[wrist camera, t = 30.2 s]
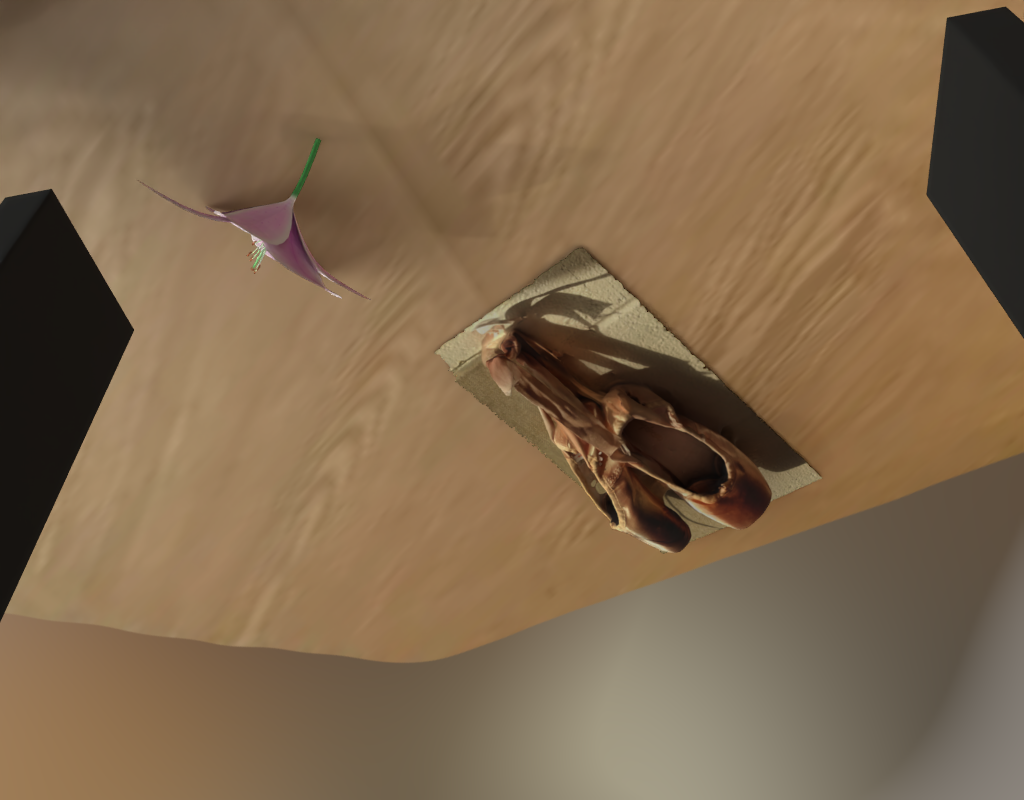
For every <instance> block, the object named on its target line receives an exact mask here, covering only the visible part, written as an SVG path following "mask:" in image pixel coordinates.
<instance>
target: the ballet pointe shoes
mask: <svg viewBox="0 0 1024 800" xmlns="http://www.w3.org/2000/svg"><path fill="white" fill-rule="evenodd" d="M565 259H566V260H561V261H560V262H559V264H556V265H555V266H553V267H552V268H550V269H549V270H548V271H547V272H544V273H543V274H541V275H540V276H539V278H537V279H534V280H535V281H534V283H533V284H532V285H529V286H528V287H525V288H523V289H522V290H521V292H520V293H519V294H518V293H516V294H514V296H513V295H512V297H511V299H508V300H506V301H505V302H504V303H502V304H501V305H499V306H498V307H496V308H495V309H494V310H492V311H491V313H488V314H487V315H485V316H484V317H483V318H482V320H481V319H479V321H477V322H476V323H473V324H472V326H470V327H467V328H466V329H465V332H463V333H459V334H458V335H457V337H456V336H455V339H454V338H452V340H449V341H448V342H446V344H443V346H441V347H440V348H441V349H438V350H437V351H436V352H435V354H436V355H437V354H440V355H441V357H442V359H445V362H446V363H447V364H448V365H449V367H451V368H450V371H453V373H454V376H456V375H457V377H456V381H455V382H458V383H459V385H460V386H463V388H465V389H466V391H469V392H471V393H472V394H473V395H475V396H474V397H475V398H476V399H477V400H478V401H479V402H480V403H482V404H486V406H488V407H489V409H490V410H491V411H492V412H495V413H496V414H495V415H498V418H500V420H504V422H506V424H508V425H509V427H511V428H512V427H515V431H516V432H518V434H521V435H522V437H524V436H526V438H528V440H527V442H531V443H532V444H534V445H532V446H538V447H539V448H538V450H539V451H541V453H542V454H544V453H546V455H545V457H546V458H549V459H552V462H553V463H555V464H556V465H557V467H558V468H560V470H561V471H564V473H566V474H567V475H568V476H569V477H570V478H572V480H573V481H576V482H575V483H577V484H578V485H579V486H581V487H582V488H584V490H585V492H586V493H587V495H589V497H590V498H591V499H592V500H593V502H594V504H595V505H596V506H597V508H598V509H599V510H600V511H601V512H602V513H603V514H604V515H605V516H606V517H607V518H608V519H609V520H610V526H611V528H612V530H620V531H622V532H624V533H627V534H630V535H631V536H633V537H635V538H637V539H639V540H640V541H643V542H644V543H646V544H648V545H650V546H653V547H654V548H658V549H659V550H660V552H661V553H663V554H664V553H667V552H672V553H677V552H680V551H681V550H683V549H684V548H685V546H686V545H687V544H688V543H689V542H690V541H694V540H696V539H697V538H701V537H703V536H706V535H708V534H709V533H713V532H715V531H716V530H720V529H723V528H725V527H727V526H729V527H732V528H735V529H740V530H742V529H745V528H747V527H749V526H750V525H752V524H753V523H754V522H755V521H756V520H757V519H758V518H759V517H760V516H761V515H762V514H763V513H764V511H765V510H766V508H767V507H768V505H769V503H770V502H771V501H773V500H774V499H777V498H779V497H782V496H784V495H786V494H789V493H790V492H793V491H794V490H797V489H800V487H804V486H805V485H809V484H811V483H812V482H815V481H817V480H818V479H821V478H822V477H820V476H819V475H818V473H816V471H815V470H813V468H811V467H810V466H809V464H807V462H806V461H804V460H803V458H801V457H800V456H799V454H797V453H793V452H794V451H793V450H791V448H790V447H789V446H788V445H787V444H786V442H784V440H782V438H780V437H779V436H777V435H776V434H775V433H774V431H773V430H772V429H770V427H767V425H766V424H765V422H761V421H762V420H760V418H759V417H757V416H756V414H755V413H754V412H753V411H751V410H752V409H751V408H749V407H747V406H746V404H744V402H742V401H741V400H740V399H739V397H736V396H735V394H734V393H732V391H728V389H727V388H725V387H726V386H724V383H723V382H722V381H721V380H719V379H718V378H717V376H716V375H715V374H714V373H713V372H712V371H708V369H703V367H705V365H704V363H703V362H701V361H699V359H698V358H696V357H695V356H694V355H693V356H692V354H690V351H689V350H687V348H686V347H684V346H683V345H682V344H681V342H680V340H677V339H676V338H673V337H674V335H673V334H670V331H669V332H668V331H666V328H663V325H662V324H661V322H657V321H658V320H657V319H656V318H653V315H652V314H650V312H647V311H646V309H645V308H644V306H641V307H640V302H639V301H638V299H636V298H635V297H633V296H632V294H629V293H628V291H625V290H626V289H624V288H623V285H622V284H621V283H620V282H619V281H618V280H616V281H615V279H614V278H613V276H612V275H610V274H607V270H605V269H604V268H601V265H600V264H596V263H597V261H596V260H593V259H592V257H591V255H589V253H586V250H584V249H583V248H581V249H579V248H578V249H576V250H575V251H573V252H572V253H571V254H570V255H569V256H568V257H567V258H565ZM448 371H449V370H448ZM769 429H770V430H769ZM535 444H536V445H535Z"/></svg>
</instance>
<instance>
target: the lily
mask: <svg viewBox="0 0 1024 800" xmlns="http://www.w3.org/2000/svg"><path fill="white" fill-rule="evenodd" d="M320 142H321V140H320V139H318V138H316V140H315V143H314V145H313V148H312V151H311V153H310V156H309V158H308V161H307V163H306V166H305V168H304V171H303V173H302V175H301V178H300V180H299V182H298V184H297V186H296V188H295V189H294V191H293V193H292V194H291V196H290V198H288V199H287V200H285V201H283V202H278V203H273V204H268V205H262V206H257V207H251V208H246V209H240V210H235V211H229V212H222V213H220V212H218V211H215V210H213V209H211V208H209V207H207V206H205V208H206V209H207V210H209V211H211V212H214V213H215V214H217V215H220V216H221V217H219V216H213V215H208V214H204V213H200V212H198V211H195V210H193V209H191V208H188V207H186V206H183V205H181V204H179V203H178V202H176V201H174V200H172V199H170V198H168V197H167V196H165V195H163V194H161V193H159V192H157V191H156V190H154V189H152V188H151V187H149V186H147V185H145V184H144V183H142V182H140V181H139V182H140V183H142V184H143V185H145V186H146V187H148V188H149V189H151V190H152V191H154V192H155V193H157V194H158V195H160V196H161V197H163V198H165V199H166V200H168V201H170V202H171V203H173V204H175V205H177V206H179V207H180V208H182V209H184V210H186V211H189V212H191V213H193V214H196V215H198V216H200V217H204V218H208V219H212V220H215V221H223V222H230V223H232V224H234V225H235V226H237V227H239V228H240V229H242V230H244V231H245V232H247V233H249V234H251V236H252V240H253V244H252V245H254V244H255V245H256V246H257V247H258V248H259V250H258V252H259V251H260V250H261V253H260V254H259V256H258V258H257V260H256V262H255V263H254V265H253V267H252V268H251V270H252V271H254V268H255V266H256V265H257V263H258V261H259V259H260V258H261V260H260V262H259V264H258V266H257V268H256V269H255V271H254V274H255V272H256V270H257V271H258V269H259V268H260V263H261V261H262V259H263V257H264V255H265V254H266V255H267V256H269V257H270V258H272V259H274V260H276V261H278V262H279V263H280V264H282V265H283V266H284V267H286V268H287V269H288V270H290V271H292V272H294V273H295V274H297V275H299V276H300V277H302V278H304V279H306V280H308V281H310V282H312V283H314V284H316V285H318V286H320V287H322V288H324V289H325V290H327V291H328V292H330V293H331V294H333V295H334V296H336V297H339V298H342V297H341V296H339V295H337V294H336V293H334V292H332V291H330V290H328V289H327V288H326V287H325V285H324V283H323V282H322V279H321V277H320V275H319V273H320V274H321V275H323V276H325V277H326V278H328V279H329V280H331V281H333V282H335V283H336V284H338V285H340V286H342V287H344V288H345V289H347V290H349V291H351V292H353V293H355V294H357V295H359V296H361V297H364V298H366V299H369V298H367V297H365V296H363V295H362V294H360V293H358V292H356V291H355V290H353V289H351V288H350V287H348V286H346V285H345V284H343V283H342V282H340V281H338V280H337V279H336V278H334V277H333V276H332V275H330V274H329V273H328V272H326V271H325V270H324V269H323V268H322V267H321V266H320V265H319V264H318V263H317V261H316V260H315V258H314V257H313V255H312V254H311V252H310V251H309V249H308V247H307V245H306V243H305V241H304V239H303V236H302V234H301V231H300V229H299V226H298V223H297V220H296V217H295V214H294V209H293V206H294V202H295V201H296V199H297V197H298V195H299V193H300V191H301V189H302V186H303V184H304V182H305V180H306V178H307V176H308V173H309V171H310V168H311V166H312V163H313V161H314V158H315V156H316V153H317V150H318V147H319V145H320ZM258 248H257V249H258ZM257 249H256V250H257ZM256 250H255V251H256ZM255 251H253V252H250V253H249V254H248V255H247V256H249V255H251V254H253V253H254V252H255ZM258 252H257V253H256V254H255V256H256V255H257V254H258ZM262 254H263V255H262ZM255 256H252V257H251V259H250V261H251V260H252V259H254V257H255ZM261 256H262V257H261ZM369 300H370V299H369Z"/></svg>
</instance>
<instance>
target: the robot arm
mask: <svg viewBox="0 0 1024 800" xmlns="http://www.w3.org/2000/svg"><path fill="white" fill-rule="evenodd" d="M927 196H928V198H929V199H930V201H931V202H932V204H933V205H934V207H935V208H936V210H937V211H938V213H939V214H940V216H941V217H942V218H943V220H944V221H945V223H946V224H947V226H948V227H949V229H950V230H951V232H952V233H953V235H954V236H955V238H956V239H957V241H958V242H959V244H960V245H961V247H962V248H963V250H964V251H965V253H966V254H967V255H968V257H969V258H970V260H971V261H972V263H973V264H974V266H975V267H976V269H977V270H978V272H979V273H980V275H981V276H982V278H983V279H984V281H985V282H986V284H987V285H988V287H989V288H990V290H991V291H992V292H993V294H994V295H995V297H996V298H997V300H998V301H999V303H1000V304H1001V306H1002V307H1003V309H1004V310H1005V312H1006V313H1007V315H1008V316H1009V318H1010V319H1011V321H1012V322H1013V324H1014V325H1015V326H1016V328H1017V329H1018V331H1019V332H1020V334H1021V335H1022V337H1023V338H1024V22H1023V21H1021V20H1020V19H1019V18H1018V17H1017V16H1016V15H1015V14H1014V13H1012V12H1011V11H1010V10H1009V9H1008V8H1007V7H1001V8H996V9H991V10H986V11H980V12H975V13H970V14H965V15H959V16H954V17H949V18H947V22H946V31H945V39H944V48H943V57H942V65H941V74H940V82H939V91H938V100H937V108H936V117H935V126H934V134H933V143H932V152H931V160H930V169H929V178H928V186H927ZM133 331H134V329H133V327H132V326H131V324H130V322H129V320H128V319H127V317H126V315H125V314H124V312H123V310H122V308H121V307H120V305H119V303H118V302H117V300H116V298H115V296H114V295H113V293H112V291H111V290H110V288H109V286H108V284H107V283H106V281H105V279H104V278H103V276H102V274H101V272H100V271H99V269H98V267H97V266H96V264H95V262H94V260H93V259H92V257H91V255H90V254H89V252H88V250H87V248H86V247H85V245H84V243H83V242H82V240H81V238H80V236H79V235H78V233H77V231H76V230H75V228H74V226H73V225H72V223H71V221H70V219H69V218H68V216H67V214H66V213H65V211H64V209H63V207H62V206H61V204H60V202H59V201H58V199H57V197H56V195H55V194H54V192H53V190H52V189H49V190H44V191H38V192H33V193H28V194H23V195H17V196H12V197H7V198H5V199H4V200H3V202H2V203H1V204H0V621H1V619H2V617H3V615H4V613H5V611H6V608H7V606H8V604H9V602H10V600H11V597H12V595H13V593H14V591H15V589H16V587H17V584H18V582H19V580H20V578H21V576H22V573H23V571H24V569H25V567H26V565H27V563H28V560H29V558H30V556H31V554H32V552H33V549H34V547H35V545H36V543H37V541H38V539H39V536H40V534H41V532H42V530H43V528H44V525H45V523H46V521H47V519H48V517H49V515H50V512H51V510H52V508H53V506H54V504H55V501H56V499H57V497H58V495H59V493H60V491H61V488H62V486H63V484H64V482H65V480H66V478H67V475H68V473H69V471H70V469H71V467H72V464H73V462H74V460H75V458H76V456H77V454H78V451H79V449H80V447H81V445H82V443H83V440H84V438H85V436H86V434H87V432H88V430H89V427H90V425H91V423H92V421H93V419H94V416H95V414H96V412H97V410H98V408H99V406H100V403H101V401H102V399H103V397H104V395H105V392H106V390H107V388H108V386H109V384H110V382H111V379H112V377H113V375H114V373H115V371H116V369H117V366H118V364H119V362H120V360H121V358H122V355H123V353H124V351H125V349H126V347H127V345H128V342H129V340H130V338H131V336H132V334H133Z"/></svg>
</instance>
